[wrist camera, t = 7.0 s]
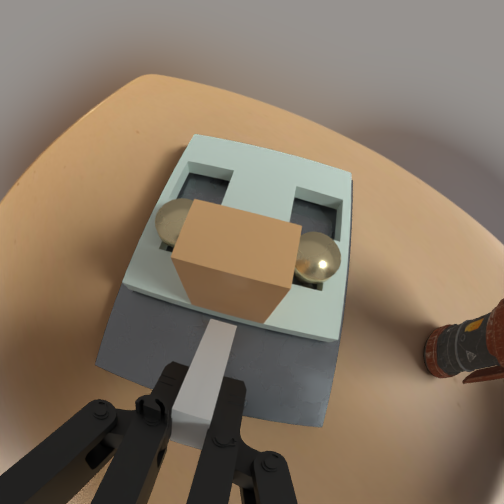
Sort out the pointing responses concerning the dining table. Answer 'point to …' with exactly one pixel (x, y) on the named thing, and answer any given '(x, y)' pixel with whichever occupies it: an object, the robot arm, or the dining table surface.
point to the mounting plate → (233, 322)
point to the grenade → (469, 348)
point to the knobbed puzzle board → (247, 241)
